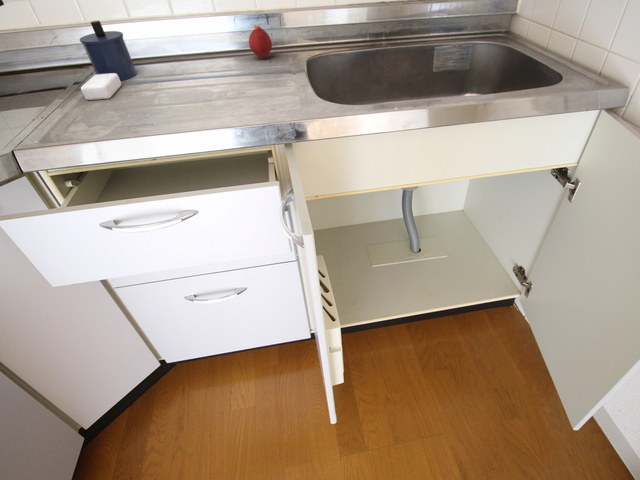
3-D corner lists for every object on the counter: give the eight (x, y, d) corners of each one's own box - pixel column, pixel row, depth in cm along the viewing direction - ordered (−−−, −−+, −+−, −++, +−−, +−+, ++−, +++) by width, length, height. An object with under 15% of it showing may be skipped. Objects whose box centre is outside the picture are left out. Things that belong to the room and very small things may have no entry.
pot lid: (75, 42, 93) (66, 23, 90) (114, 34, 98) (107, 15, 95) (90, 49, 88) (81, 28, 86) (131, 39, 93) (123, 20, 90)
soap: (99, 87, 93) (93, 73, 91) (123, 85, 94) (117, 71, 91) (85, 101, 87) (78, 87, 85) (110, 99, 87) (104, 85, 85)
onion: (267, 54, 108) (261, 20, 102) (278, 58, 104) (272, 24, 99) (248, 58, 105) (241, 24, 99) (259, 63, 102) (252, 28, 96)
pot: (93, 77, 99) (76, 40, 93) (127, 68, 103) (112, 31, 97) (108, 85, 94) (90, 46, 88) (142, 74, 99) (128, 37, 93)
